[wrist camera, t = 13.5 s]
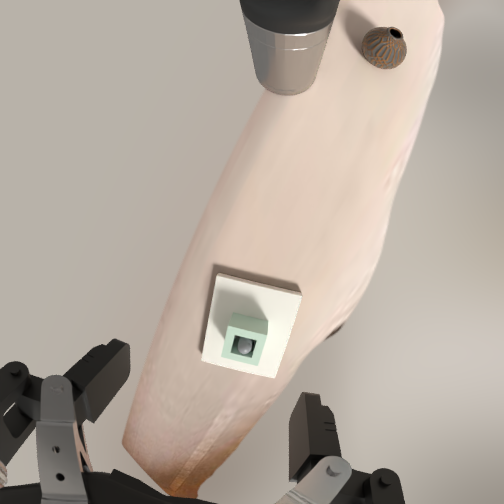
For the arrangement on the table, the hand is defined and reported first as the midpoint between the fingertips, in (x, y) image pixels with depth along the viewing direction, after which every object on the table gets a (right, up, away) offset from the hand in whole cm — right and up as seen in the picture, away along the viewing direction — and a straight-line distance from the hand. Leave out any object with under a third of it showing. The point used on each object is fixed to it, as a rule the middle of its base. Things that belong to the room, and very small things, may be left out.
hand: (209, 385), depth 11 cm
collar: (+1, -7, +31) cm, 31 cm away
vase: (+22, +38, +21) cm, 49 cm away
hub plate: (+1, -6, +32) cm, 33 cm away
